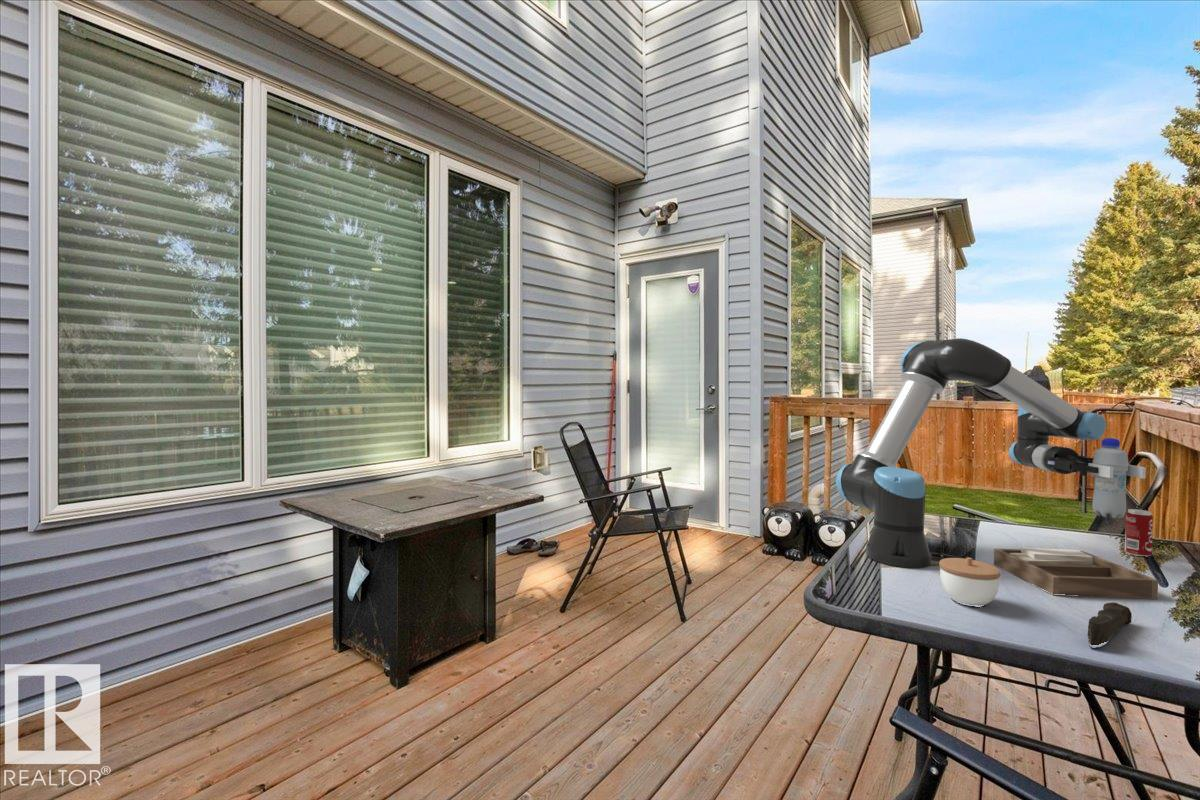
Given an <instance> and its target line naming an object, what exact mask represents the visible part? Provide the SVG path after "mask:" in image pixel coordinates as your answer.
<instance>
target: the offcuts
mask: <svg viewBox="0 0 1200 800" xmlns="http://www.w3.org/2000/svg"><path fill="white" fill-rule="evenodd" d="M1020 549H1021V552H1022V553H1010V554H1011V555H1013V556H1015V557H1017V558H1019V559H1021V560H1023V561H1026V562H1028V563H1030V564H1037V565H1073V566H1095V565H1093V557H1092V556H1090V555H1087V554H1085V553H1083V552H1080V551H1081V550H1079V549H1069V548H1068V549H1066V548H1065V549H1064V548H1063V549H1062V548H1045V547H1044V548H1043V547H1024V546H1023V547H1022V546H1021V547H1020Z"/></svg>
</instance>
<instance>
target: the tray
mask: <svg viewBox="0 0 1200 800" xmlns="http://www.w3.org/2000/svg"><path fill="white" fill-rule="evenodd" d="M1079 551H1080V552H1083V553H1085V554H1087V555H1090V556H1092V557H1093V565H1095V566H1073V565H1037V564H1030V563H1028V562H1026V561H1023V560H1021V559H1019V558H1017V557H1015V556H1013V555H1011V554H1010V553H1022V552H1021V548H1020V549H1019V548H1018V549H1017V548H1016V549H1015V548H1014V549H1013V548H1011V549H1009V548H994V549H993V566H994V565H995V567H997V568H1000V569H1002V570H1003V571H1006V572H1008V573H1010V574H1012V575H1014V576H1015V577H1017V578H1019V579H1021V580H1022V581H1025V582H1027V583H1029V584H1030V583H1031V584H1030V585H1032V584H1034V585H1036V586H1038V587H1040V588H1042V589H1044V590H1046V591H1048V592H1050V593H1052V594H1065V595H1078V596H1077V597H1089V598H1090V596H1091V597H1094V598H1096V597H1097V598H1098V597H1099V598H1124V599H1126V598H1128V599H1130V598H1131V599H1158V597H1159V594H1158V593H1159V580H1158V579H1156V578H1153V577H1152V576H1151V577H1150V576H1148V575H1145V574H1142V573H1141V572H1138V571H1135V570H1132V569H1130V568H1128V567H1124V566H1122V565H1119V564H1117V563H1114V562H1112V561H1110V560H1107V559H1104V558H1102V557H1098V556H1096V555H1093V554H1092V553H1088V552H1087V551H1083V550H1079ZM1034 585H1033V586H1034ZM1036 586H1035V587H1036ZM1038 587H1037V588H1038ZM1040 588H1039V589H1040ZM1042 589H1041V590H1042ZM1044 590H1043V591H1044ZM1046 591H1045V592H1046ZM1048 592H1047V593H1048Z"/></svg>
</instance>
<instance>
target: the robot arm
mask: <svg viewBox="0 0 1200 800" xmlns="http://www.w3.org/2000/svg"><path fill="white" fill-rule="evenodd" d="M900 365H901V367H900V370H901V374H900V378H901V380H902V384H901V386H900V388H899V390H898V391H897V392H896V393H897V394H896V395H895V397H894V399H893V400H892V402H891V404H890V406H889V408H888V410H886V413H885V415H884V416H883V418H882V421H881V422H880V424H879V425H878V428H877V429H876V431H875V433H874V434H873V436H872V438H871V441H870V442H869V443H868V446H867V448H866V450H865V451H864V452H860V453H857V454H856V456H855V458H854V460H853V462H852V463H851V462H850V463H847V464H844V465H843V466H842V467H841V468H840V469H839V470H838V472H837V474H836V478H835V485H836V489H837V492H838V495H839V496H840V497H841V498H842V499H843V500H844V501H846V502H848V503H850V504H852V505H853V506H855V507H860V508H864V509H867V510H869V511H872V512H873V528H872V531H871V533H870V535H869V538H868V542H867V543H866V547H865V555H866V554H867V555H868V556H869V557H870V558H871V560H872V559H873V561H874V562H878V563H880V564H883V565H889V566H893V567H900V568H911V569H913V568H914V569H915V568H916V569H917V568H919V569H920V568H926V567H929V566H931V565H932V553H931V551H930V549H929V544H928V541H927V537H926V534H925V516H926V515H925V513H926V509H925V508H926V492H927V491H926V490H927V489H926V483H925V479H924V478H925V477H923V476H922V474H920V473H919V472H916V471H914V470H910V469H907V468H901V467H899V466H898V467H897V466H896V465H897V463H898V462H899V460H900V458H901V456H902V454H903V453H904V450H905V449H906V446H907V445H908V443H909V441H910V440H911V437H912V436H913V434H914V432H915V430H916V428H917V426H919V425H918V424H919V422H920V421H921V420H922V417H923V416H924V413H925V412H926V410H927V408H928V406H929V404H930V403H931V401H932V399H933V397H934V396H935V395H939V394H941V393H943V392H944V390H945V388H946V386H947V384H948V382H949V381H963V382H967V383H968V382H969V383H972V384H974V385H976V386H978V387H980V388H983V389H991V390H992V391H994V392H996V393H997V394H999V395H1001V396H1002V397H1003V398H1006V399H1007V400H1009V401H1010V402H1012V403H1013V404H1014V405H1016V406H1018V411H1017V416H1016V417H1017V430H1016V431H1017V433H1016V435H1017V438H1016V441H1014V442H1013V443H1012V444H1011V446H1010V447H1009V450H1008V455H1009V458H1010V459H1011V461H1013V462H1015V463H1016V464H1019V465H1022V466H1023V467H1029V468H1035V469H1039V470H1043V471H1044V470H1045V472H1046V473H1048V474H1049V473H1053V472H1054V473H1057V474H1062V475H1070V474H1073V473H1074V474H1075V473H1078V472H1079V473H1080V476H1082V477H1083V476H1085V477H1087V476H1088V475H1093V476H1094V475H1097V476H1102V477H1107V478H1113V467H1109V466H1104V465H1099V464H1093V459H1094V457H1089V456H1085V455H1079V453H1078V452H1077V451H1076V450H1074V449H1073V448H1071V447H1070V448H1069V447H1064V446H1059V445H1053V444H1049V441H1050V437H1058V438H1066V439H1075V440H1080V441H1084V440H1089V441H1094V440H1095V441H1096V440H1098V439H1100V438H1101V437H1102V436H1103V435H1104V434H1105V432H1106V429H1107V422H1106V419H1105V418H1104V417H1103V415H1101V414H1100V413H1096V412H1090V411H1086V412H1084V411H1082V410H1080V409H1078V408H1077V407H1075V406H1074V405H1072V404H1071V403H1069V402H1067V401H1066V400H1064V399H1063V398H1062V397H1060V396H1059V395H1058V394H1056V393H1054V392H1052V391H1051V390H1049V389H1047V388H1046V387H1045V386H1043V385H1041V384H1040V383H1038V382H1037V381H1035V380H1034V379H1032V378H1030V377H1029V376H1028V375H1026V374H1024V372H1021V371H1020V370H1018V369H1017V368H1015V367H1013V366H1012V361H1011V360H1010V359H1009V358H1007V357H1006V356H1004V354H1001V353H1000V352H998V351H996V350H994V349H992V348H991V347H989V346H987V345H985V344H982V343H980V342H977V341H975V340H972V339H967V338H961V337H960V338H959V337H958V338H949V339H942V340H941V339H940V340H923V341H921V342H917V343H914V344H911V345H910V346H909V347H907V348H906V349H905V351H904V353H903V354H902V356H901V359H900ZM1146 470H1147V468H1146V467H1144V466H1138V465H1132V463H1130V462H1129V466H1128V471H1127V472H1126V477H1127V476H1128V477H1133V478H1138V479H1145V480H1146V478H1147V477H1146V476H1147V475H1146V472H1147V471H1146ZM1087 474H1088V475H1087ZM867 555H866V556H867ZM868 556H867V557H868ZM869 557H868V558H869ZM870 558H869V559H870Z"/></svg>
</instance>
